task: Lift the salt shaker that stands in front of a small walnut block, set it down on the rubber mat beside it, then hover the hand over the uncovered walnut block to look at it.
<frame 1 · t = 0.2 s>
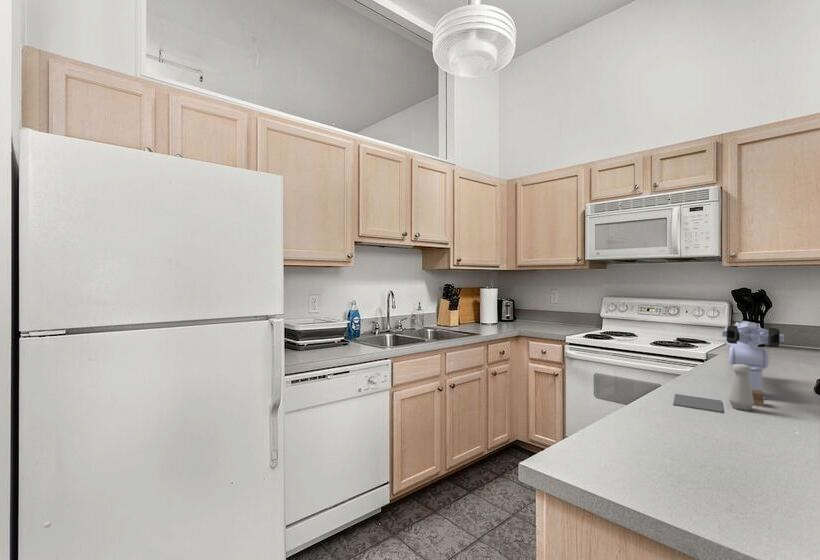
hand: (754, 338, 118), 21 cm above the counter, tool horizontal, fingers open, 7 cm apart
rubber mat: (697, 403, 125), on the counter
salt shaker: (740, 409, 120), on the counter
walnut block: (754, 404, 125), on the counter
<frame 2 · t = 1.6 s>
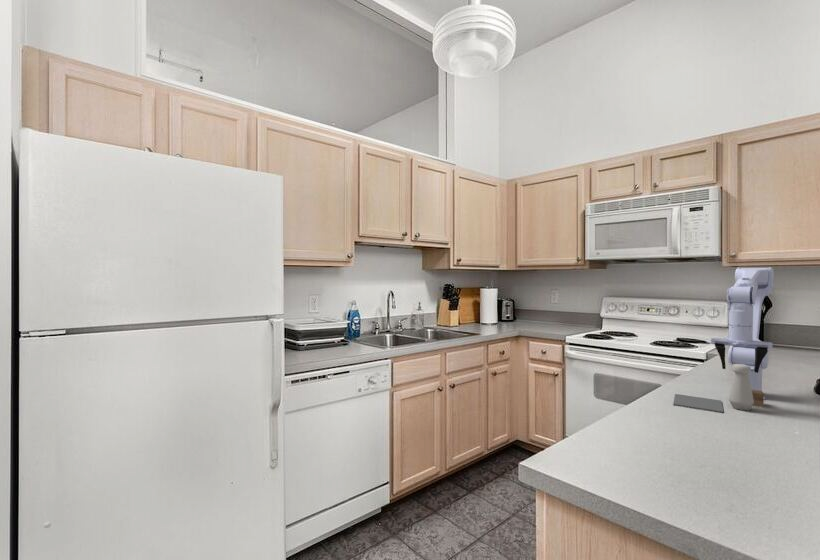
hand: (739, 370, 124), 10 cm above the counter, tool pointing down, fingers open, 7 cm apart
nothing on the counter moved.
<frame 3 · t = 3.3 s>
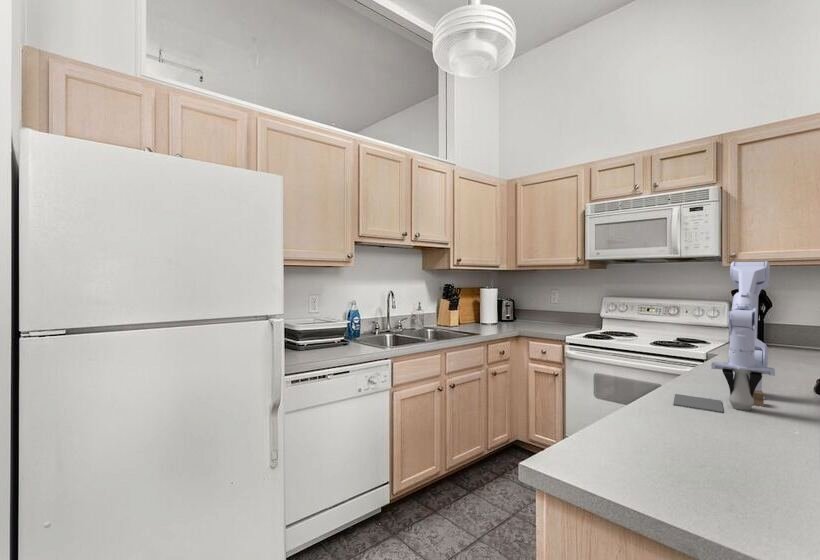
hand: (741, 396, 120), 4 cm above the counter, tool pointing down, fingers closed on salt shaker, 4 cm apart
salt shaker: (740, 409, 120), on the counter, touching gripper
everything else where it was.
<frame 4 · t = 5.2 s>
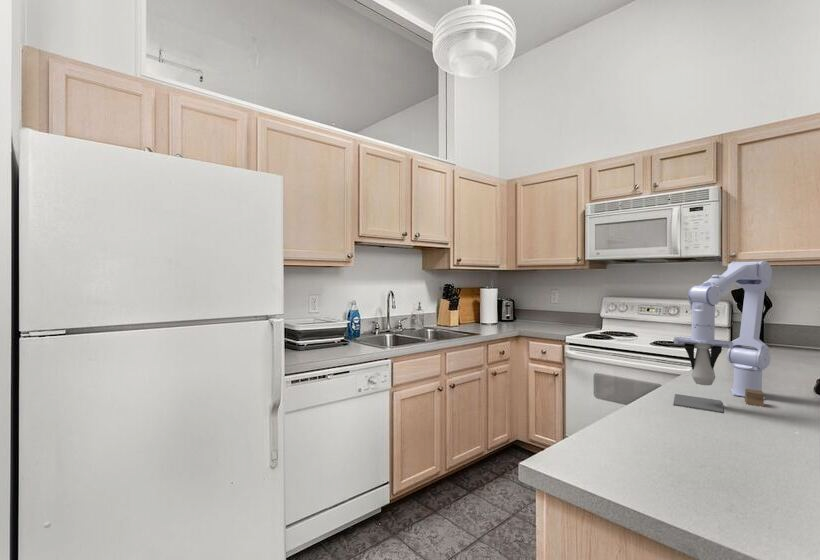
hand: (702, 369, 124), 10 cm above the counter, tool pointing down, fingers closed on salt shaker, 4 cm apart
salt shaker: (703, 384, 124), point 6 cm above the counter, touching gripper
everything else where it was.
when the fingers open (5 cm above the counter, at t = 7.0 s): salt shaker stays where it is, resting on rubber mat.
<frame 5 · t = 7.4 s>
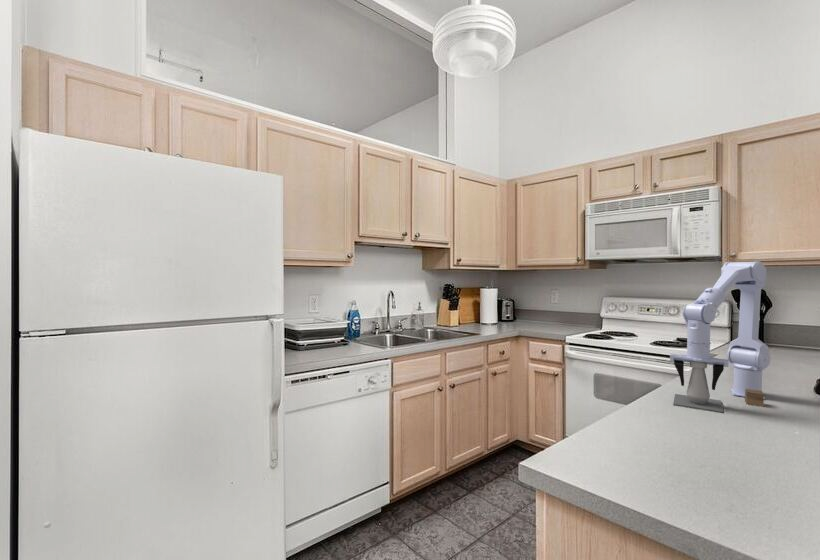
hand: (697, 387, 125), 5 cm above the counter, tool pointing down, fingers open, 7 cm apart
salt shaker: (697, 403, 124), resting on rubber mat
everything else where it was.
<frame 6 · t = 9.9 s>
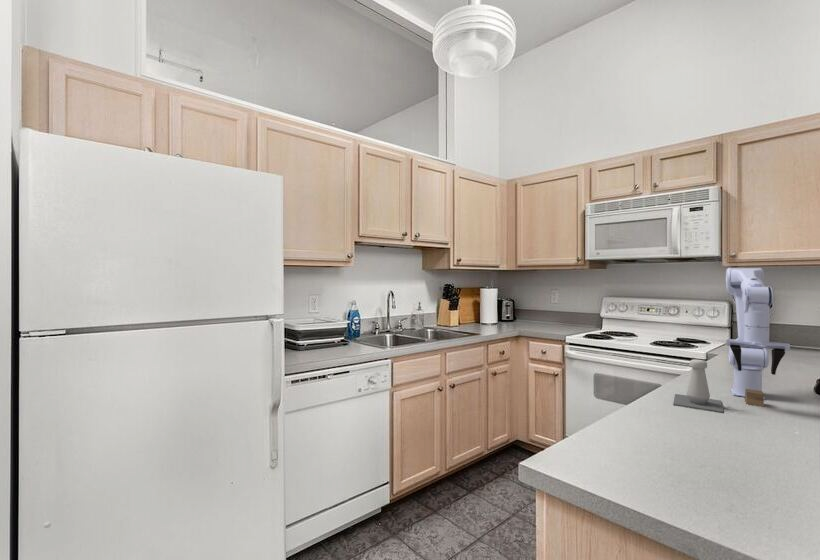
hand: (756, 372, 122), 10 cm above the counter, tool pointing down, fingers open, 7 cm apart
nothing on the counter moved.
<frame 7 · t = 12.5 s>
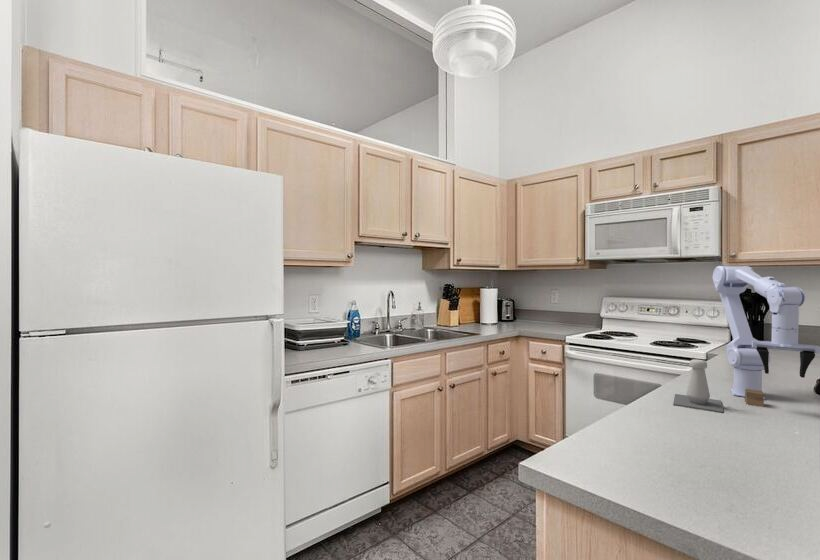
hand: (784, 374, 119), 10 cm above the counter, tool pointing down, fingers open, 7 cm apart
nothing on the counter moved.
at the end: salt shaker inside the target area (0.4 cm from its centre), resting on rubber mat; salt shaker tilted 0°; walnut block moved 0.1 cm from its start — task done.
